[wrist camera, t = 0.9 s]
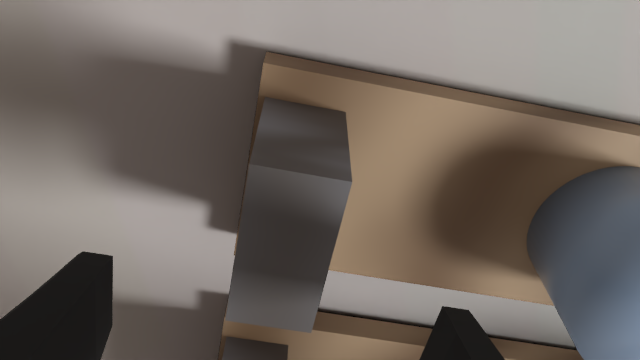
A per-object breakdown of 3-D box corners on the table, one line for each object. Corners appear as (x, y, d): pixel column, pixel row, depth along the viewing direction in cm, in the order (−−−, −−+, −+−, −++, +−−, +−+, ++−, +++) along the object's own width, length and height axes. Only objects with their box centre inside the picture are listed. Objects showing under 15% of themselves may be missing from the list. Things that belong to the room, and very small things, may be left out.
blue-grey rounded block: (711, 181, 17) (810, 262, 14) (634, 296, 20) (701, 390, 16) (564, 153, 17) (628, 230, 13) (504, 275, 19) (544, 367, 16)
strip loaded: (752, 147, 18) (891, 241, 13) (644, 303, 21) (727, 417, 17) (266, 51, 16) (246, 122, 12) (237, 237, 20) (214, 344, 15)
